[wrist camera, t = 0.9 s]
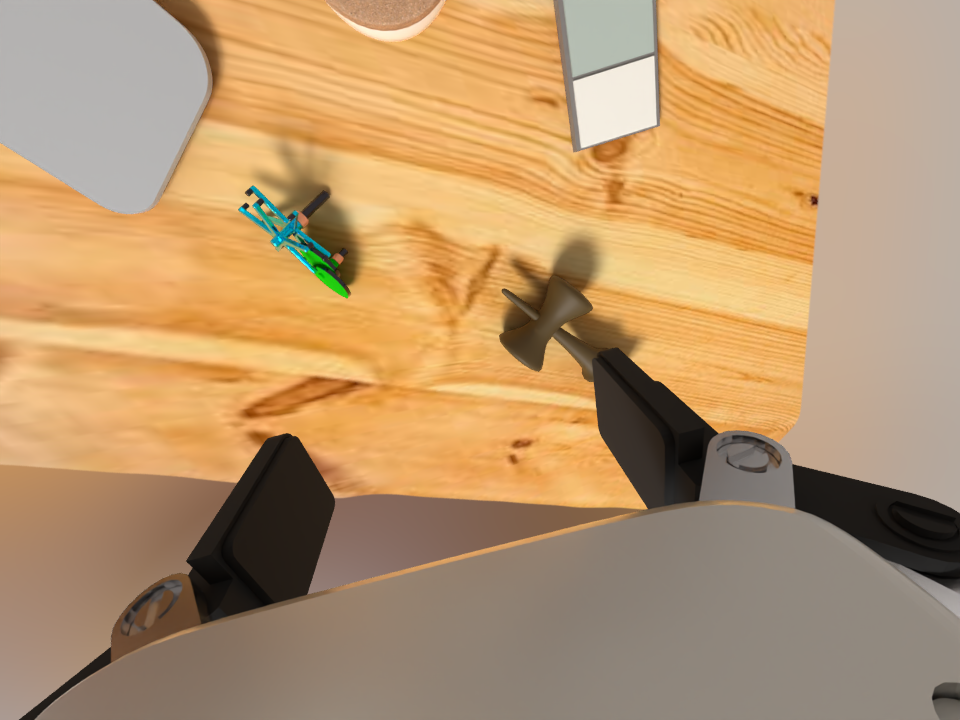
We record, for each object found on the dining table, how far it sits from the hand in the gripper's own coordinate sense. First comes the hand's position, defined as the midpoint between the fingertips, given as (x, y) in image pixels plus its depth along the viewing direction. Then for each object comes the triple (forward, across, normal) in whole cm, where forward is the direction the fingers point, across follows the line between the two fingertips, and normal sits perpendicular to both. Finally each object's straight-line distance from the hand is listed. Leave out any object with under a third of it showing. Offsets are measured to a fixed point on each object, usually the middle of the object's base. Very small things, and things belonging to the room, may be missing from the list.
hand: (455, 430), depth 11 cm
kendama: (+30, -11, +12) cm, 34 cm away
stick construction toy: (+30, +11, -5) cm, 32 cm away
